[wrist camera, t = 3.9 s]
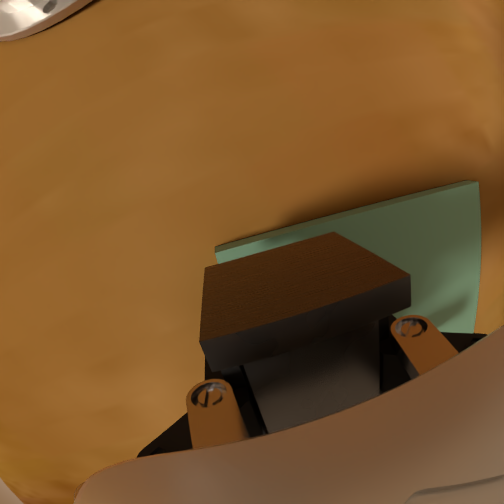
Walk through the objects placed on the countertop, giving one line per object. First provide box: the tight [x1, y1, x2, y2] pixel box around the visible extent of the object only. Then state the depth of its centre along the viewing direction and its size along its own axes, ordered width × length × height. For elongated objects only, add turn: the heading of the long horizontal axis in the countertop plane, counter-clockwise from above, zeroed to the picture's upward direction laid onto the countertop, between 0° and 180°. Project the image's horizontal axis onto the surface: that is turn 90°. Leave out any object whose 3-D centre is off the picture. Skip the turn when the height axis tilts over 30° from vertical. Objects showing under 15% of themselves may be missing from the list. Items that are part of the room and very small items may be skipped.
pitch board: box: [215, 180, 481, 333], centre depth 15 cm, size 25×15×4 cm, turn 14°
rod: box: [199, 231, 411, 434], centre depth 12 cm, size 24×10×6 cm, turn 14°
